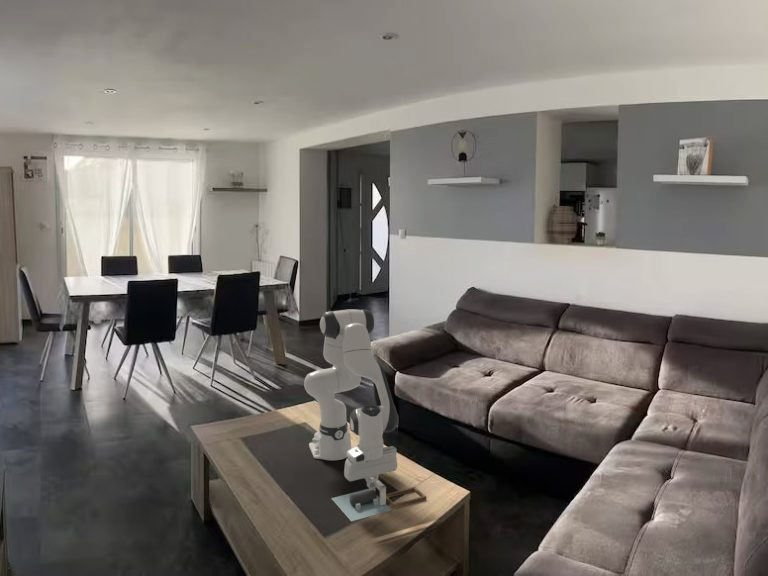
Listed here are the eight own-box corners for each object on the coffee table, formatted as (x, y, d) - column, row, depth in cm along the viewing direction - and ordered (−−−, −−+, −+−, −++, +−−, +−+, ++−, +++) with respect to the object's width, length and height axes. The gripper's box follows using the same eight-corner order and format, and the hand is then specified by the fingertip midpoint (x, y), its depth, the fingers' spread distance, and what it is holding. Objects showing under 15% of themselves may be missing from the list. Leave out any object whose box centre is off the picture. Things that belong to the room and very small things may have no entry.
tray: (383, 500, 221) (383, 494, 220) (414, 491, 227) (414, 486, 227) (394, 510, 213) (394, 505, 213) (426, 501, 219) (426, 496, 219)
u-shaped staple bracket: (369, 494, 223) (369, 477, 222) (374, 492, 224) (374, 475, 223) (381, 505, 215) (381, 487, 214) (385, 504, 216) (385, 486, 214)
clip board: (331, 500, 221) (331, 493, 220) (369, 490, 228) (369, 483, 227) (351, 524, 205) (351, 515, 204) (392, 512, 212) (392, 504, 212)
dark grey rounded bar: (350, 504, 216) (349, 493, 216) (372, 498, 220) (371, 488, 220) (354, 508, 213) (354, 497, 212) (376, 502, 217) (376, 491, 217)
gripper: (392, 441, 223) (392, 476, 225) (342, 452, 213) (342, 488, 216) (400, 448, 217) (400, 483, 219) (349, 459, 208) (349, 496, 210)
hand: (371, 486), depth 217 cm, fingers closed
